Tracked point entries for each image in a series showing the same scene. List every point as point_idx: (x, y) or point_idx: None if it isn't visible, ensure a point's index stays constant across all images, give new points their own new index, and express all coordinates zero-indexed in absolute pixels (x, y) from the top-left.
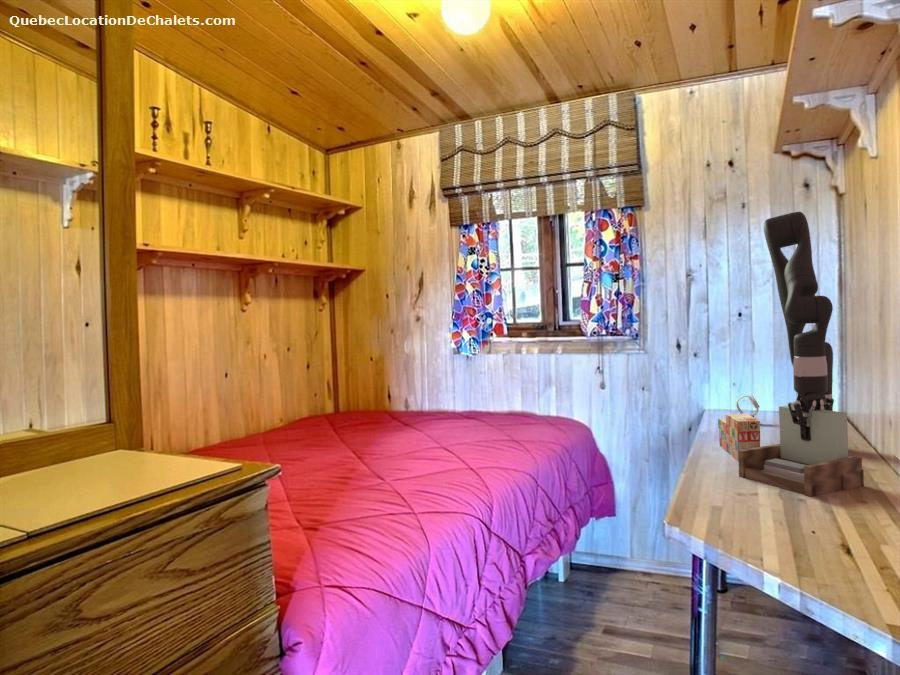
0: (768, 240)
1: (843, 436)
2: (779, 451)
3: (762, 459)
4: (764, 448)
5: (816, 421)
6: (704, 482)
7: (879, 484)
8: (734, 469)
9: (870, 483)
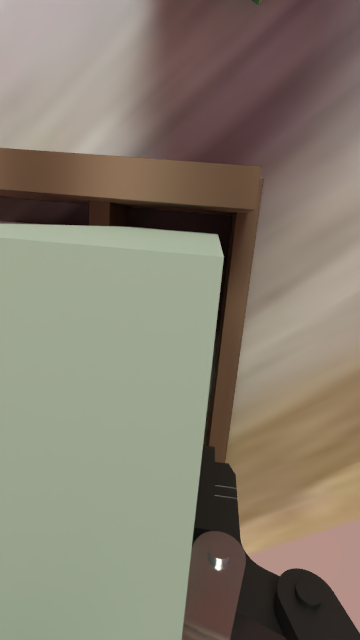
0: None
1: None
2: (146, 203)
3: (25, 195)
4: (7, 190)
5: None
6: None
7: (270, 516)
8: (15, 58)
9: (260, 496)
